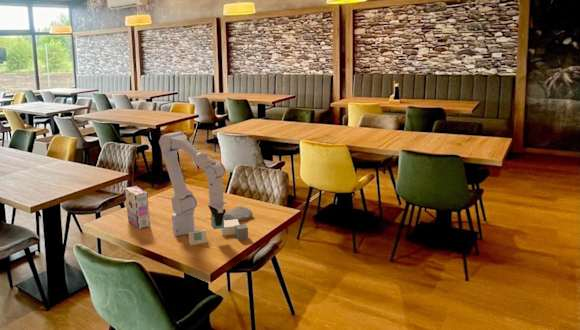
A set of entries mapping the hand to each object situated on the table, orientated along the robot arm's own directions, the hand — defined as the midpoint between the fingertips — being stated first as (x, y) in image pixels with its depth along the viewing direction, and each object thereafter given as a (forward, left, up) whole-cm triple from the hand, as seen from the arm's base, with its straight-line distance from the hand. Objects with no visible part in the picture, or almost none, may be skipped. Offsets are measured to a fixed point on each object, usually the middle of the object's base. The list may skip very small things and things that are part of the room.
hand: (217, 223), depth 196 cm
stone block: (+15, +22, -8) cm, 28 cm away
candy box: (-30, +32, -8) cm, 45 cm away
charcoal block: (+10, -1, -8) cm, 13 cm away
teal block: (0, 0, -2) cm, 2 cm away
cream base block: (+7, +8, -8) cm, 13 cm away
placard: (-8, +1, -8) cm, 12 cm away
